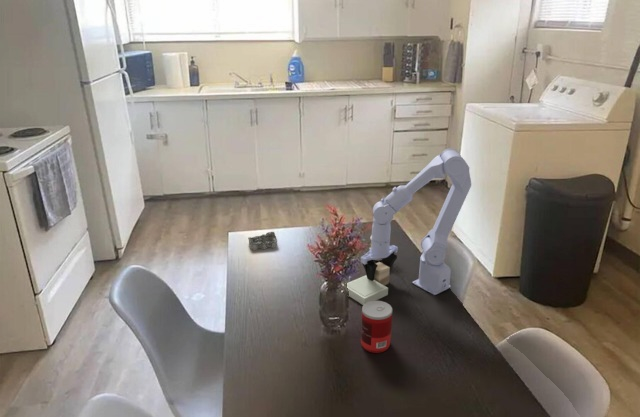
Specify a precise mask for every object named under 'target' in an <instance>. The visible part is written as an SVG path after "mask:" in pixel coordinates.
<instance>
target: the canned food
mask: <svg viewBox="0 0 640 417" xmlns="http://www.w3.org/2000/svg"><path fill="white" fill-rule="evenodd" d="M361 308H362V310H361V324H360V326H361V328H360V329H361V330H360V345H361V346H362V348H363V349H364V350H365V351H367V352H369V353H371V354H372V353H373V354H380V353H383V352H385V351H387V350H388V349H389V347H390V345H391V340H392V339H391V338H392V325H393V307H392V305H391V304H389V303H388V302H386V301H382V300H376V301H370V302H367V303H366V304H364V305H362V306H361Z"/></svg>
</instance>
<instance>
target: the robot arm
mask: <svg viewBox="0 0 640 417" xmlns="http://www.w3.org/2000/svg"><path fill="white" fill-rule="evenodd" d="M445 175H447V176H448V177H449V179H450V181H451V182H452V184H451V186H450V189H449V190H448V193H447V195H446V197H445V200H444V202H443V204H442V207H441V209H440V211H439V213H438V216H437V218H436V220H435V223H434V225H433V227H432V228H431V229H430V230H428V233H427V234H426V236H424V237H423V238H422V239H421V241H420V247H421V249H422V254H421V256H420V257H419V259H420V260H419V270H418V271H419V272H418V278H417V279H416V280H413V281H412V285H415V286H416V287H418V288H420V289H422V290H424V291H425V292H428V293H430V294H432V295H433V296H436V295H438V294H440V293H443V292H444V291H447V290H448V289H450V288H451V274H452V270H451V267H450V266H449V265H447V264H446V263H445V260H446V250H447V247H448V240H449V236H450V233H451V231H452V229H453V226H454V224H455V222H456V220H457V218H458V215H459V213H460V212H461V209H462V206H463V205H464V203H465V201H466V198H467V196H468V194H469V192H470V189H471V187H472V180H471V173H470V166H469V165H468V163H467V161H466V160H465V158H463V157H462V155H461V154H460V152H459V151H458V150H457V149H454V148H446V149H444V150H443V151H442V152H441V153H440V154H438V155H436V156H435V157H434V158H433V159H431V161H430V162H429V163H428V164H427V165H426V166H425V167H424V168H422V170H420V171H419V172H418V173H417V175H415V176H414V177H413V178H412V179H411V180H410V181H409V182H408V183H407V184H405V185H404V184H403V185H398V186H394V187H393V188H392V191H391V192H390V193H388V195H386V197H382V198H381V199H380V201H379V200H378V201H377V202H376V203H375V204H374V205H373V207H372V213H373V218H372V226H371V236H372V239H371V248H370V247H369V248H368V251H367V252H366V253H365V254H364V255H362V256H360V263H361V264H362V266H363V268H364V270H365V275H367V278H368V279H369V280H371V281H374V275H375V270H376V268H377V266H378V265H377V264H376V262H375V261H376V260H375V259H381V258H382V260H381V263H383V264H385V265H386V266H388V267H390V269H389V273H390V271H391V270H392V267H393V265H394V263H395V262H396V260H397V259H398V255H397V254H396V253H398V248H399V247H398V246H397V245H394V244H392V245H391V244H390V243H391V232H392V231H391V229H392V226H391V222H392V220H393V218H394V215H396V214H397V213H398V212H399V211H401V210H402V209H403V208H404V207H405V206H406V205H408V204H409V203H410V202H412V201H413V195H414V194H415V193H416V192H417V191H418V190H420V189H421V188H423V187H424V186H425V185H427V184H428V183H430V182H431V181H432V180H433V179H445V178H446V176H445Z"/></svg>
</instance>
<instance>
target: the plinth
mask: <svg viewBox="0 0 640 417" xmlns="http://www.w3.org/2000/svg"><path fill="white" fill-rule="evenodd" d="M346 283H347V288H348V291H349V296H348V297H350V298H351V299H353V300H354V301H356V302H358V303H359V304H361V305H362V306H363V305H364V304H366V303H367V302H370V301H379V300H380V299H382V298H384V297H386V296H388V295H389V287H387V286H386V285H382V284H381V283H379V282H377V281H375V280H374V281H371V280H369V279H368V278H367V275H366V274H365V275H363V276H361V277H358V278H356V279H353V280H351V281H349V282H346Z"/></svg>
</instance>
